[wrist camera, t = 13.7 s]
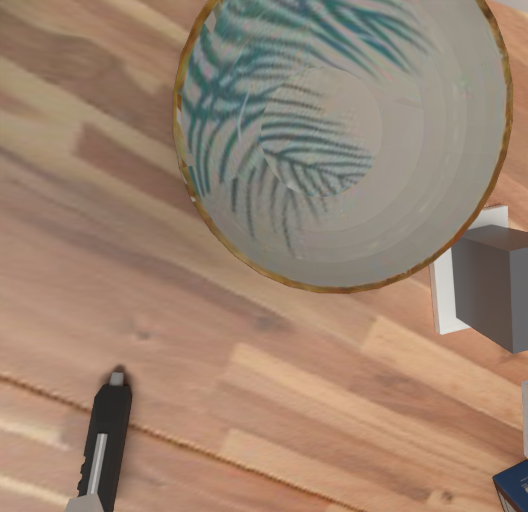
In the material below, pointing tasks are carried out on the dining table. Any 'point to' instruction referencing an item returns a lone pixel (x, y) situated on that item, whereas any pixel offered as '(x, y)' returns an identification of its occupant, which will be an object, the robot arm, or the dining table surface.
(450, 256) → the white peg board
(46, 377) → the dining table surface
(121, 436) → the gun
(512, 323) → the block
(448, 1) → the bowl
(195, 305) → the dining table surface
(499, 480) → the protein box
